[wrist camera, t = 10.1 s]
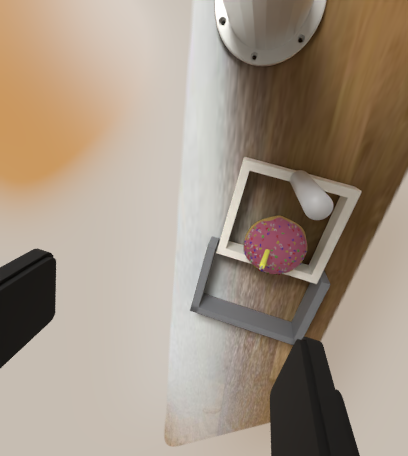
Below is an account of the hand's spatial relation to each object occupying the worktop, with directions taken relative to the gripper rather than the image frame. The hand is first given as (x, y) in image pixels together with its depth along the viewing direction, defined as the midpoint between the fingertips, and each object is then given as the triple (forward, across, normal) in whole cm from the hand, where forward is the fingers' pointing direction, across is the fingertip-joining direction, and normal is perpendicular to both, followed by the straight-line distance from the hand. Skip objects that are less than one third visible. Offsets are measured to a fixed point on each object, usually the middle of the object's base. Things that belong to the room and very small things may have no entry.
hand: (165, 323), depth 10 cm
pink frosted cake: (+32, -8, +7) cm, 34 cm away
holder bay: (+32, -8, +17) cm, 37 cm away
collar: (+32, -8, +4) cm, 34 cm away
